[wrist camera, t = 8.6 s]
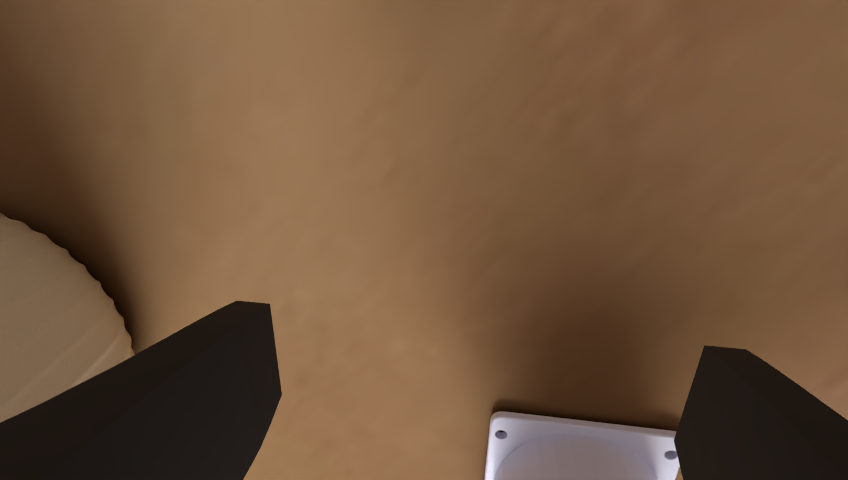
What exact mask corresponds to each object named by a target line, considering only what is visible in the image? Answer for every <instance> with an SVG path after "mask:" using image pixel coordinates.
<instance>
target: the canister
mask: <svg viewBox="0 0 848 480" xmlns="http://www.w3.org/2000/svg"><path fill="white" fill-rule="evenodd" d="M131 342H132V341H131V336H130V335H129V333H128V332H127V331H126V329H125V326H124V319H123V317H122V316H121V315H120V314H119V313H118V312H117V310H116V308H115V306H114V301H113V299H111V298H110V297H108V296H107V295H106V293H105V292H104V291H103V289H102V287H101V283H100V282H99V281H97V280H95V279H94V278H93V277H92V276H91V275H90V274H89V273H88V271H87V270H86V267H85V266H84V265H83V264H80V263H79V262H77V261H76V260H74V259H73V258H72V257H71V256H70V254H69V253H68V251H67V250H66V249H64V248H61V247H59V246H58V245H56V244H54V243H53V242H52V241H51V240H50V239H49V238H48V237H47V236H46V235H45V234H42V233H39V232H35V231H33V230H32V229H30V228H29V226H28V225H26V224H25V223H23V222H21V221H18V220H12V219H9V218H8V217H6V216H5V215H3V214H2V213H0V422H3V421H5V420H7V419H9V418H11V417H13V416H16V415H18V414H20V413H22V412H24V411H26V410H28V409H30V408H33V407H35V406H37V405H39V404H41V403H43V402H45V401H47V400H49V399H51V398H53V397H55V396H57V395H59V394H61V393H63V392H64V391H66V390H68V389H70V388H72V387H74V386H76V385H78V384H80V383H82V382H84V381H86V380H88V379H90V378H92V377H94V376H96V375H98V374H100V373H102V372H104V371H106V370H108V369H110V368H112V367H114V366H116V365H117V364H119V363H121V362H123V361H125V360H127V359H128V358H130V357H132V356H134V355H135V353H134V352H133V350H132V348H131Z"/></svg>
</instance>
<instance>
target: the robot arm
mask: <svg viewBox="0 0 848 480" xmlns="http://www.w3.org/2000/svg"><path fill="white" fill-rule="evenodd" d="M281 395H282V392H281V385H280V377H279V370H278V362H277V355H276V347H275V339H274V332H273V324H272V317H271V309H270V304H265V303H255V302H244V301H235V302H233V303H231V304H229V305H227V306H224V307H222V308H220V309H218V310H217V311H215V312H213V313H211V314H209V315H207V316H205V317H203V318H201V319H200V320H198V321H196V322H194V323H192V324H190V325H189V326H187V327H185V328H183V329H181V330H180V331H178V332H176V333H174V334H172V335H170V336H169V337H167V338H165V339H163V340H161V341H160V342H158V343H156V344H154V345H152V346H150V347H149V348H147V349H145V350H143V351H141V352H139V353H138V354H136V355H134V356H132V357H130V358H128V359H127V360H125V361H123V362H121V363H119V364H117V365H116V366H114V367H112V368H110V369H108V370H106V371H104V372H102V373H100V374H98V375H96V376H94V377H92V378H90V379H88V380H86V381H84V382H82V383H80V384H78V385H76V386H74V387H72V388H70V389H68V390H66V391H64V392H63V393H61V394H59V395H57V396H55V397H53V398H51V399H49V400H47V401H45V402H43V403H41V404H39V405H37V406H35V407H33V408H30V409H28V410H26V411H24V412H22V413H20V414H18V415H16V416H13V417H11V418H9V419H7V420H5V421H3V422H0V480H243V479H244V477H245V475H246V473H247V472H248V470H249V468H250V466H251V464H252V463H253V461H254V459H255V457H256V455H257V453H258V451H259V449H260V448H261V445H262V443H263V440H264V438H265V436H266V433H267V431H268V429H269V426H270V424H271V421H272V419H273V416H274V413H275V411H276V408H277V406H278V403H279V401H280V398H281ZM498 430H503V431H505V432H498ZM667 451H671V452H667ZM679 467H680V468H681V473H682V476H683V480H848V420H846V419H845V418H844V417H842V416H841V415H839V414H838V413H837V412H835V411H834V410H833V409H831V408H830V407H828V406H827V405H826V404H824V403H823V402H821V401H820V400H819V399H817V398H816V397H815V396H813V395H812V394H810V393H809V392H808V391H806V390H805V389H803V388H802V387H801V386H799V385H798V384H796V383H795V382H794V381H792V380H791V379H789V378H788V377H787V376H785V375H784V374H782V373H781V372H779V371H778V370H777V369H775V368H774V367H772V366H771V365H769V364H768V363H766V362H765V361H763V360H762V359H760V358H759V357H757V356H756V355H754V354H752V353H751V352H749V351H747V350H746V349H736V348H725V347H715V346H704V349H703V352H702V355H701V358H700V361H699V364H698V367H697V370H696V373H695V376H694V380H693V383H692V386H691V389H690V392H689V395H688V398H687V401H686V404H685V407H684V410H683V413H682V416H681V420H680V423H679V426H678V429H677V432H676V431H670V430H661V429H652V428H644V427H635V426H626V425H618V424H609V423H600V422H592V421H583V420H574V419H566V418H557V417H548V416H540V415H531V414H522V413H513V412H505V411H499V412H496V413H494V414H493V415H492V416H491V419H490V429H489V438H488V448H487V457H486V467H485V476H484V480H675V478H676V475H677V473H678V470H679Z"/></svg>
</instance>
